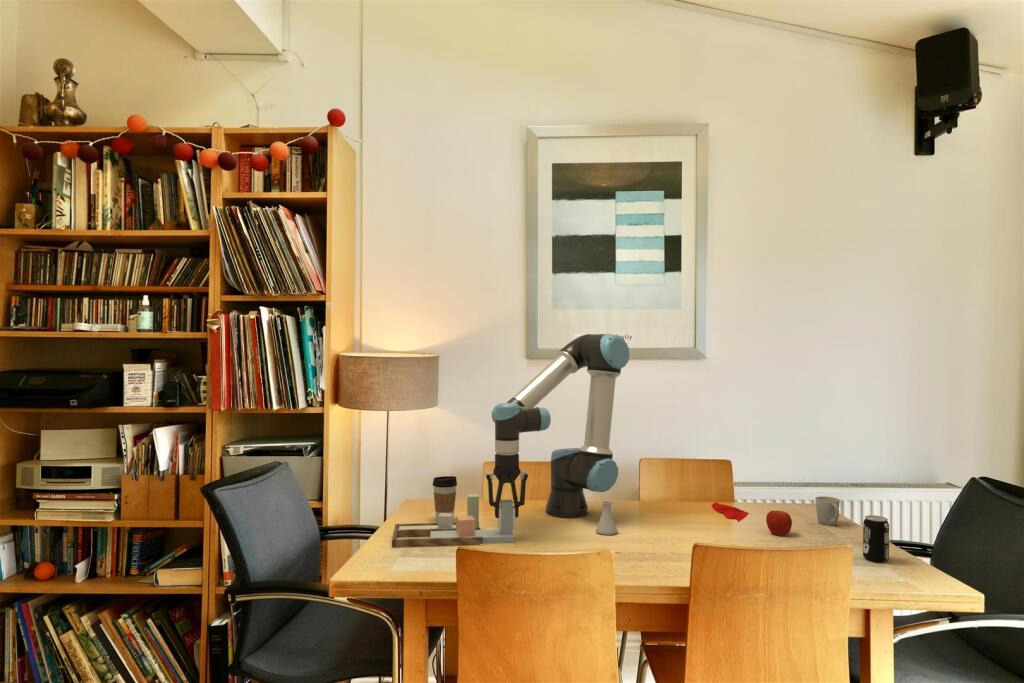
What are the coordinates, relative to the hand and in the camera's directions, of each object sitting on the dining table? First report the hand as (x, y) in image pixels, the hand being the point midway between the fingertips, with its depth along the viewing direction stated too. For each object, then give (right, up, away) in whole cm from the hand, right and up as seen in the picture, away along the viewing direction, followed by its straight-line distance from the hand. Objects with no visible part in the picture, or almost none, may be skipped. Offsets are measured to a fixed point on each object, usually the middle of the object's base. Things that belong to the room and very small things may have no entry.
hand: (506, 527), depth 212 cm
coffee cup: (-21, -4, +21) cm, 30 cm away
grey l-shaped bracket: (-22, -3, +6) cm, 23 cm away
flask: (+32, -4, +8) cm, 34 cm away
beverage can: (+106, -4, -18) cm, 107 cm away
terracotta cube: (-13, -1, -2) cm, 13 cm away
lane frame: (-21, -3, +1) cm, 21 cm away
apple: (+88, -4, +7) cm, 88 cm away
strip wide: (-11, -3, -1) cm, 11 cm away
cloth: (+81, -5, +35) cm, 88 cm away
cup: (+110, -4, +19) cm, 111 cm away
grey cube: (-20, -1, +6) cm, 21 cm away
